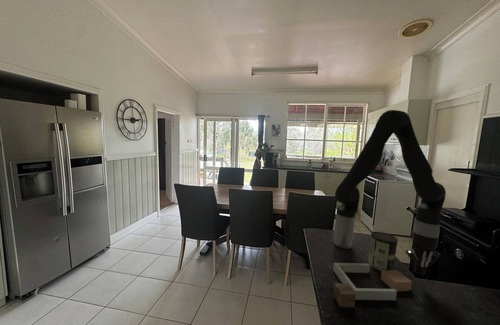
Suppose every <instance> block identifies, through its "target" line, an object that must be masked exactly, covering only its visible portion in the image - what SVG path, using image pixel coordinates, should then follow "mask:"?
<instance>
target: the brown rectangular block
mask: <svg viewBox="0 0 500 325" xmlns="http://www.w3.org/2000/svg"><path fill="white" fill-rule="evenodd" d="M380 280H381V281H382V282H384V283H385V284H386V285H387V287H389V289H395V290H396V291H397V292H410V291H409V290H412V285H413V281H412V280H411V279H409V278H407V276H405V275H404V274H403V273H402V272H400V271H399V270H398V269H396V270H395V269H394V270H384V271H381V275H380Z"/></svg>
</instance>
